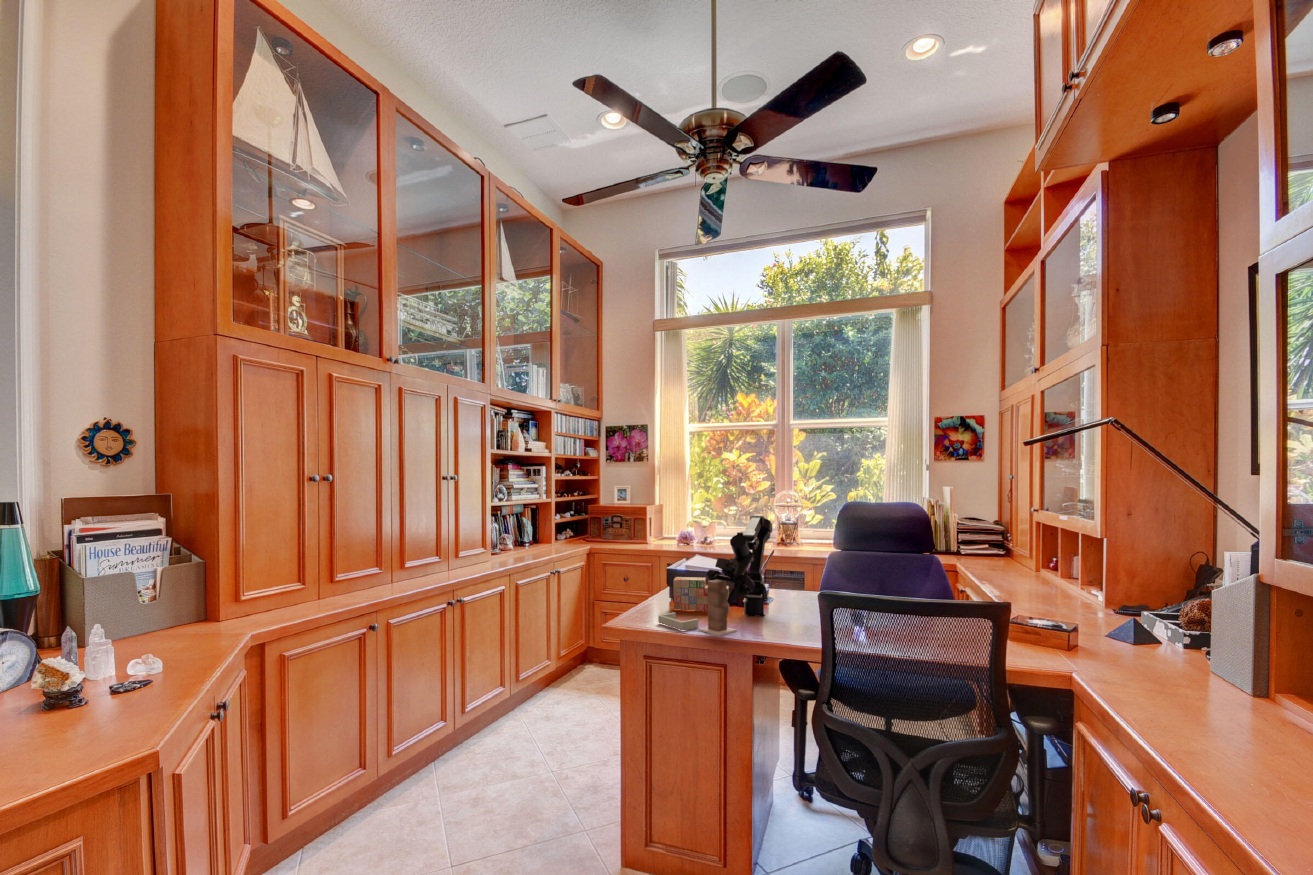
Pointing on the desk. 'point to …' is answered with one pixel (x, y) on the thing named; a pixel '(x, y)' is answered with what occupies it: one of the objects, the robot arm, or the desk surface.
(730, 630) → the grey mat
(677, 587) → the stack of blocks
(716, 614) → the walnut block
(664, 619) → the grey u-shaped bracket
